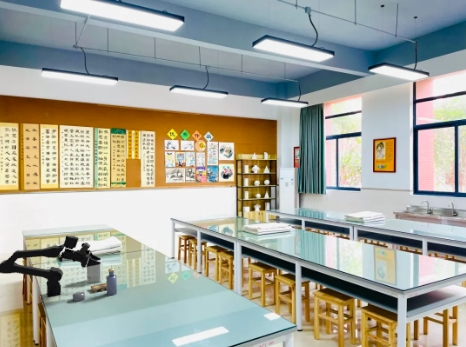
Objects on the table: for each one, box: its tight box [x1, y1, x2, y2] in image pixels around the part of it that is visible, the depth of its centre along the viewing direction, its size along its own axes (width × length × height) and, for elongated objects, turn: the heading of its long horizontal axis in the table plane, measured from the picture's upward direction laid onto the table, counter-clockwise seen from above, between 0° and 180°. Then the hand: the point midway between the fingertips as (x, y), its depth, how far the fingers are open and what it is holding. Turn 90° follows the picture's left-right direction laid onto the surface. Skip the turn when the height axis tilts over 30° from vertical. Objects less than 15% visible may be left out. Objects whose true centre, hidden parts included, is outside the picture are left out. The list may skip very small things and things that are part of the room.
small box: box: [86, 258, 104, 283], centre depth 220 cm, size 8×6×13 cm
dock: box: [90, 282, 107, 294], centre depth 204 cm, size 10×7×2 cm
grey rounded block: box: [72, 291, 86, 303], centre depth 189 cm, size 6×6×3 cm
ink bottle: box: [105, 268, 118, 297], centre depth 197 cm, size 5×5×14 cm
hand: (100, 261), depth 206 cm, fingers open, 9 cm apart
